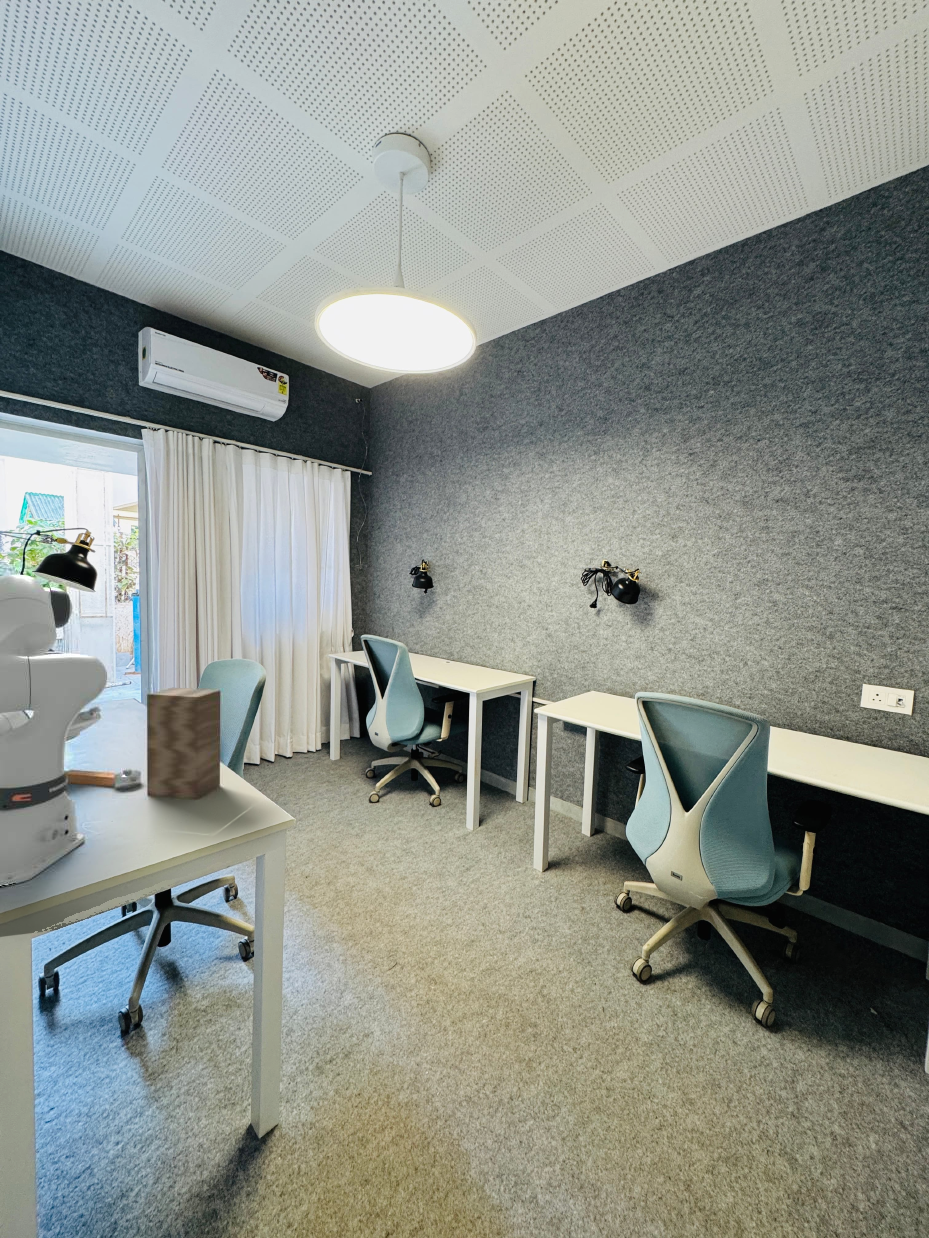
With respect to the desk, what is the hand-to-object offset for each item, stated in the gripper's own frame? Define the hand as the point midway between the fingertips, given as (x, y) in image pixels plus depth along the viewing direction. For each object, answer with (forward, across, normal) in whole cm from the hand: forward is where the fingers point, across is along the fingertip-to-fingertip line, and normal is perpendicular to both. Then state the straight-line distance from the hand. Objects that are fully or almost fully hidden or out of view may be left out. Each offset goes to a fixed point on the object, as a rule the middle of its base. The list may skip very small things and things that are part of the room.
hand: (82, 713), depth 133 cm
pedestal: (+17, 0, +31) cm, 36 cm away
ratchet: (-4, 0, +19) cm, 20 cm away
